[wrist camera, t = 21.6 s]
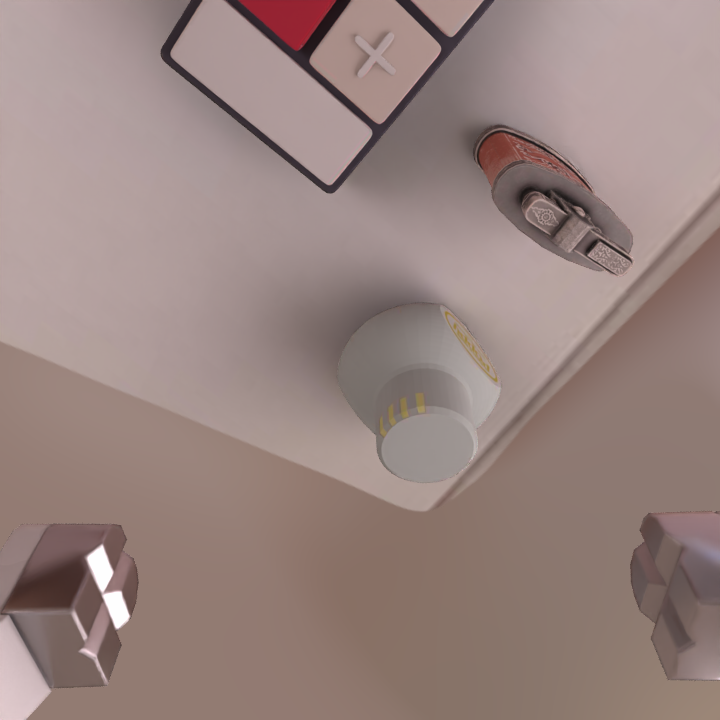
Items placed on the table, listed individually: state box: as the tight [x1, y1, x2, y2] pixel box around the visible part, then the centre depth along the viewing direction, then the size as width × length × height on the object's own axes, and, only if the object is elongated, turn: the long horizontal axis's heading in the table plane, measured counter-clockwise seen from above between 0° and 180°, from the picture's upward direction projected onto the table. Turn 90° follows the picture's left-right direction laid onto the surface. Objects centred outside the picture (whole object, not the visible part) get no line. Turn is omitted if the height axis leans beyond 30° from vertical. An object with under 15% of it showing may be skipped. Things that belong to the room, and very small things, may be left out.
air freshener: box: [337, 303, 502, 483], centre depth 41 cm, size 11×8×10 cm
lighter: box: [473, 124, 634, 277], centre depth 34 cm, size 8×3×10 cm, turn 59°
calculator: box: [161, 0, 494, 193], centre depth 32 cm, size 11×4×15 cm
